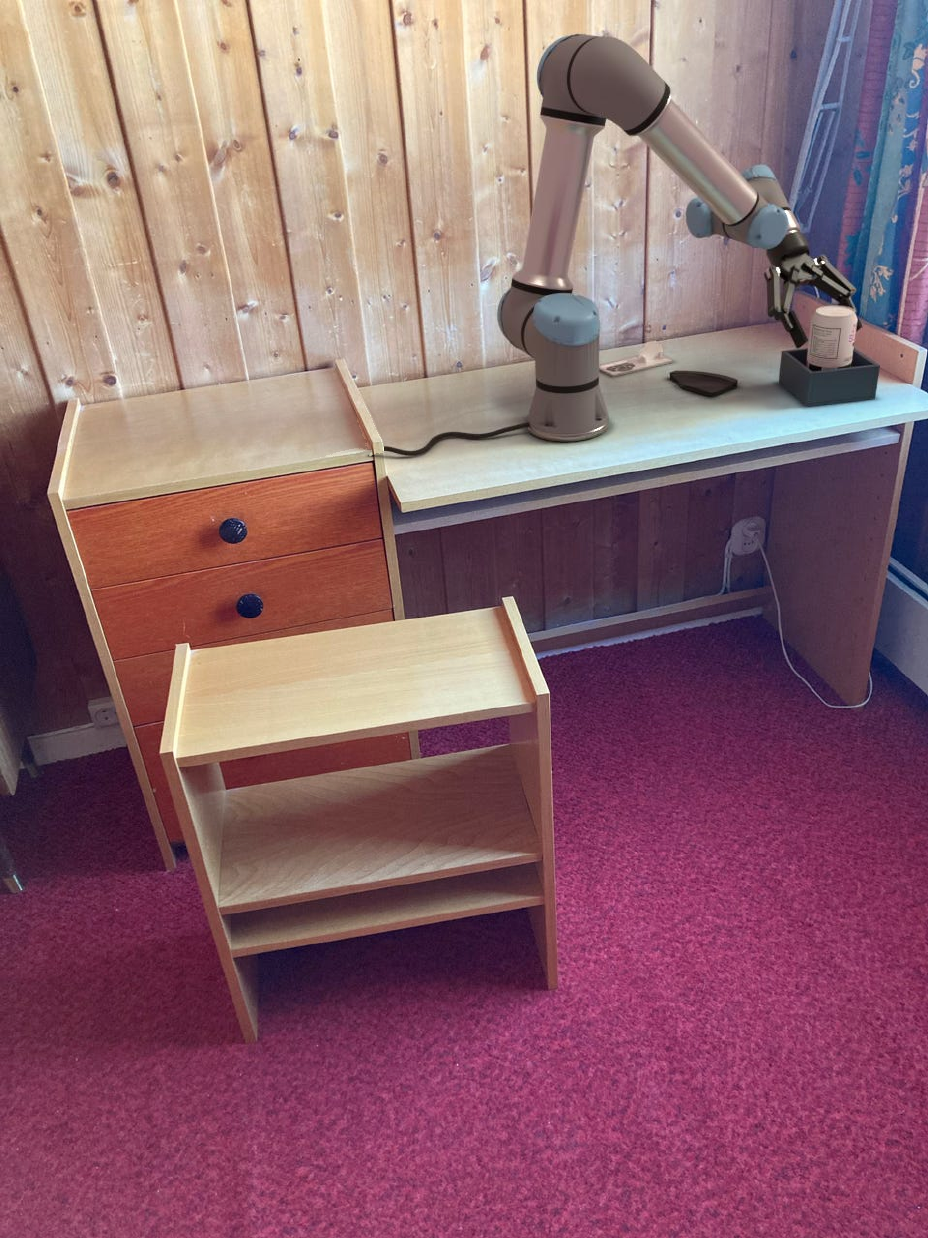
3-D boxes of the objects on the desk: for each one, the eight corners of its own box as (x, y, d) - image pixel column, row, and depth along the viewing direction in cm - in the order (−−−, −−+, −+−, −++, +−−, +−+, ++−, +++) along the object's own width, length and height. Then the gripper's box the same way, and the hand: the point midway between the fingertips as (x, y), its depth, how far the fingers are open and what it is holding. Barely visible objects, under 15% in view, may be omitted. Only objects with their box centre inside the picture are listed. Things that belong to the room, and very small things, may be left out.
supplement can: (797, 382, 207) (805, 306, 198) (837, 378, 207) (847, 302, 199) (813, 397, 200) (822, 319, 192) (855, 392, 200) (866, 314, 192)
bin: (806, 406, 197) (810, 373, 194) (778, 383, 209) (781, 350, 205) (875, 399, 198) (880, 365, 195) (843, 375, 210) (847, 343, 206)
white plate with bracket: (653, 354, 228) (654, 333, 226) (672, 362, 223) (673, 341, 221) (596, 368, 223) (596, 347, 220) (613, 376, 218) (613, 355, 215)
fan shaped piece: (689, 371, 218) (690, 364, 217) (740, 387, 208) (740, 379, 207) (661, 381, 214) (661, 373, 213) (710, 398, 204) (711, 390, 203)
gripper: (820, 243, 210) (866, 335, 206) (722, 264, 201) (768, 360, 197) (843, 219, 203) (891, 314, 199) (742, 240, 194) (790, 339, 190)
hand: (830, 337), depth 198 cm, fingers open, 13 cm apart
